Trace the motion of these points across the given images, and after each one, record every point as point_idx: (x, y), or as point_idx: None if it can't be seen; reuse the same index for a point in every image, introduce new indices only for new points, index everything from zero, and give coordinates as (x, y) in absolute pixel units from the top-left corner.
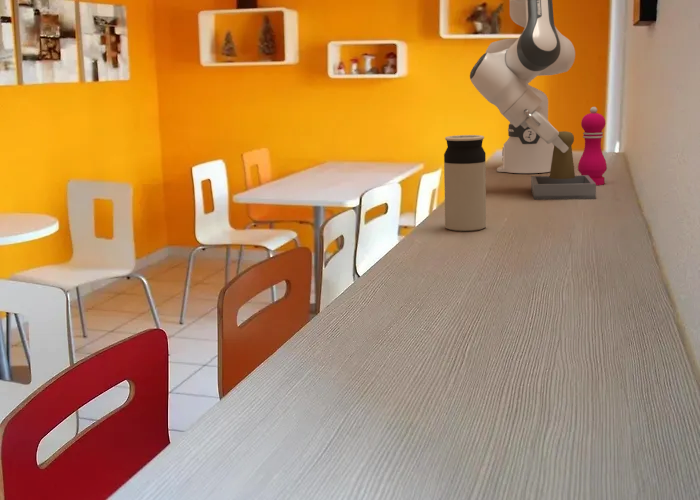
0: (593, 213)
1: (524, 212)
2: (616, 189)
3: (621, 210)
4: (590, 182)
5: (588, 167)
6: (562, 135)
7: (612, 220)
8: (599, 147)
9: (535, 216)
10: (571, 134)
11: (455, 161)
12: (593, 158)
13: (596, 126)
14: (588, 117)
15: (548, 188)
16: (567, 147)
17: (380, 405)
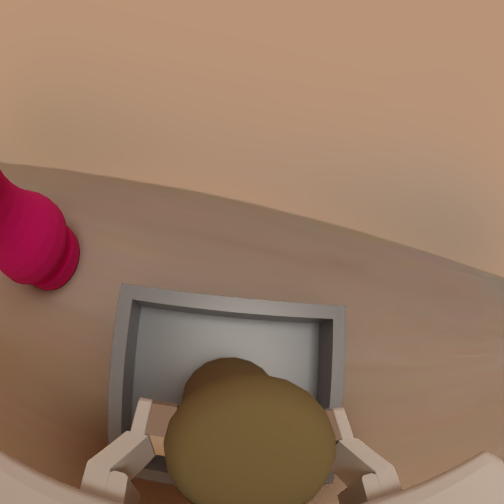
0: (469, 336)
1: (450, 453)
2: (161, 220)
3: (449, 285)
4: (313, 317)
5: (51, 258)
6: (332, 464)
7: (498, 312)
8: (14, 187)
9: (476, 426)
10: (306, 400)
11: None
12: (37, 228)
13: None
14: None
15: None
16: (342, 413)
17: None
